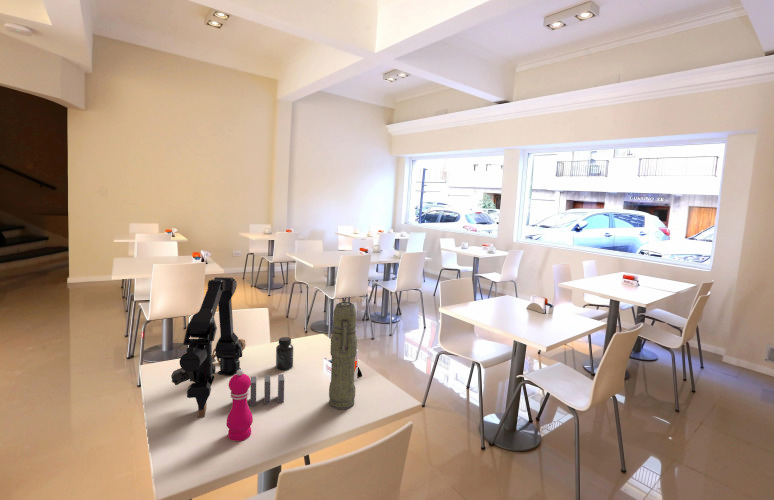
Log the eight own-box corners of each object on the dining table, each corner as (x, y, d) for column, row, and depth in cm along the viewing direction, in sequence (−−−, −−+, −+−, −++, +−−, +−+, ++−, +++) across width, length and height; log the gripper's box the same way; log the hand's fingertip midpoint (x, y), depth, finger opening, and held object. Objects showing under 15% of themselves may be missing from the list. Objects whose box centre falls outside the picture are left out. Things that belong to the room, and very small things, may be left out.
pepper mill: (230, 428, 123) (230, 364, 120) (255, 428, 123) (255, 364, 121) (223, 442, 115) (222, 374, 113) (249, 442, 116) (249, 375, 114)
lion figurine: (244, 356, 177) (244, 336, 176) (246, 361, 172) (246, 340, 171) (207, 361, 170) (207, 340, 169) (208, 366, 166) (208, 344, 165)
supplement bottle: (285, 362, 173) (285, 334, 171) (296, 366, 169) (297, 338, 167) (272, 367, 167) (272, 339, 166) (283, 372, 163) (283, 343, 162)
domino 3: (264, 404, 137) (264, 381, 136) (264, 397, 142) (264, 375, 141) (270, 404, 138) (270, 381, 137) (269, 397, 143) (270, 375, 142)
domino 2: (250, 405, 136) (250, 383, 135) (250, 398, 141) (250, 376, 140) (256, 405, 137) (256, 382, 136) (256, 398, 141) (256, 376, 140)
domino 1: (198, 417, 128) (198, 392, 127) (200, 409, 133) (200, 385, 132) (204, 416, 128) (204, 392, 127) (206, 408, 133) (206, 385, 132)
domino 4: (278, 403, 139) (278, 380, 138) (277, 396, 143) (278, 374, 142) (283, 402, 139) (284, 380, 138) (283, 395, 144) (283, 374, 143)
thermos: (351, 393, 148) (355, 299, 143) (357, 410, 136) (361, 308, 132) (327, 395, 145) (329, 299, 141) (330, 412, 134) (334, 308, 130)
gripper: (179, 349, 135) (179, 394, 137) (167, 372, 117) (168, 424, 119) (215, 347, 138) (215, 391, 140) (209, 369, 120) (209, 419, 122)
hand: (202, 405), depth 130 cm, fingers open, 5 cm apart
